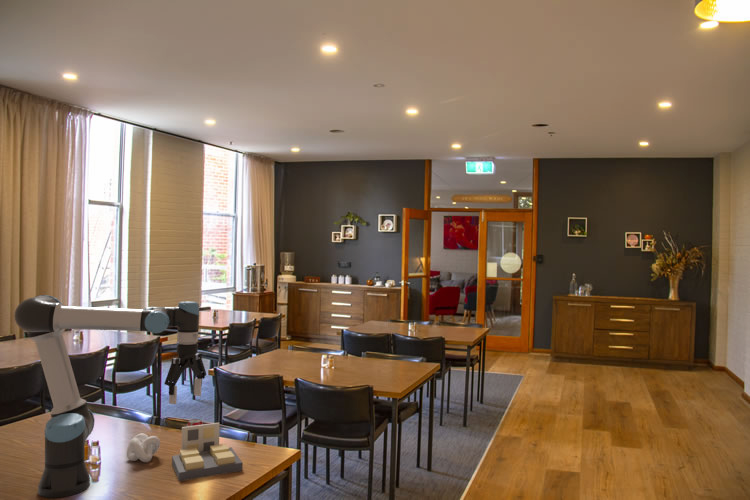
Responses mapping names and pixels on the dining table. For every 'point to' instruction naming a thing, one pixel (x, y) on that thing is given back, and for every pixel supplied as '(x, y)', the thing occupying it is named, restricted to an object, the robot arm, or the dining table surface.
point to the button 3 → (218, 449)
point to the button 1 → (188, 453)
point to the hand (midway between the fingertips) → (185, 399)
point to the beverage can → (194, 422)
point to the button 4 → (224, 458)
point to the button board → (203, 453)
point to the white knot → (142, 447)
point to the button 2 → (193, 462)
